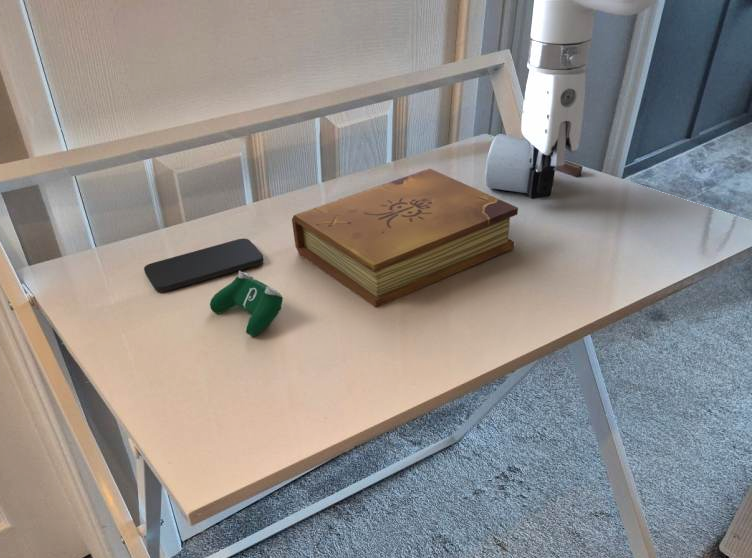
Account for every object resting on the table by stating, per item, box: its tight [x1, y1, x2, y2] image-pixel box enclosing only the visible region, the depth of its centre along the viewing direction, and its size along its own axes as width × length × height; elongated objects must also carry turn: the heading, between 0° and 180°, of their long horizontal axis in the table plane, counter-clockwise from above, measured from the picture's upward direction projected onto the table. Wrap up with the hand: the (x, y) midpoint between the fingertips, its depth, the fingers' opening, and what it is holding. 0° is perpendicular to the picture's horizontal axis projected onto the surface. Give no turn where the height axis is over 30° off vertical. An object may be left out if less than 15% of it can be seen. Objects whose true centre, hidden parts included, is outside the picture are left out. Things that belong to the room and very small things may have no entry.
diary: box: [291, 168, 519, 308], centre depth 90 cm, size 23×19×6 cm
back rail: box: [555, 159, 583, 178], centre depth 112 cm, size 14×1×2 cm, turn 38°
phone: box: [143, 238, 265, 293], centre depth 91 cm, size 7×1×15 cm
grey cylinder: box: [484, 133, 533, 194], centre depth 104 cm, size 11×8×8 cm
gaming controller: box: [209, 270, 284, 338], centre depth 81 cm, size 9×4×6 cm
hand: (538, 195), depth 99 cm, fingers closed
